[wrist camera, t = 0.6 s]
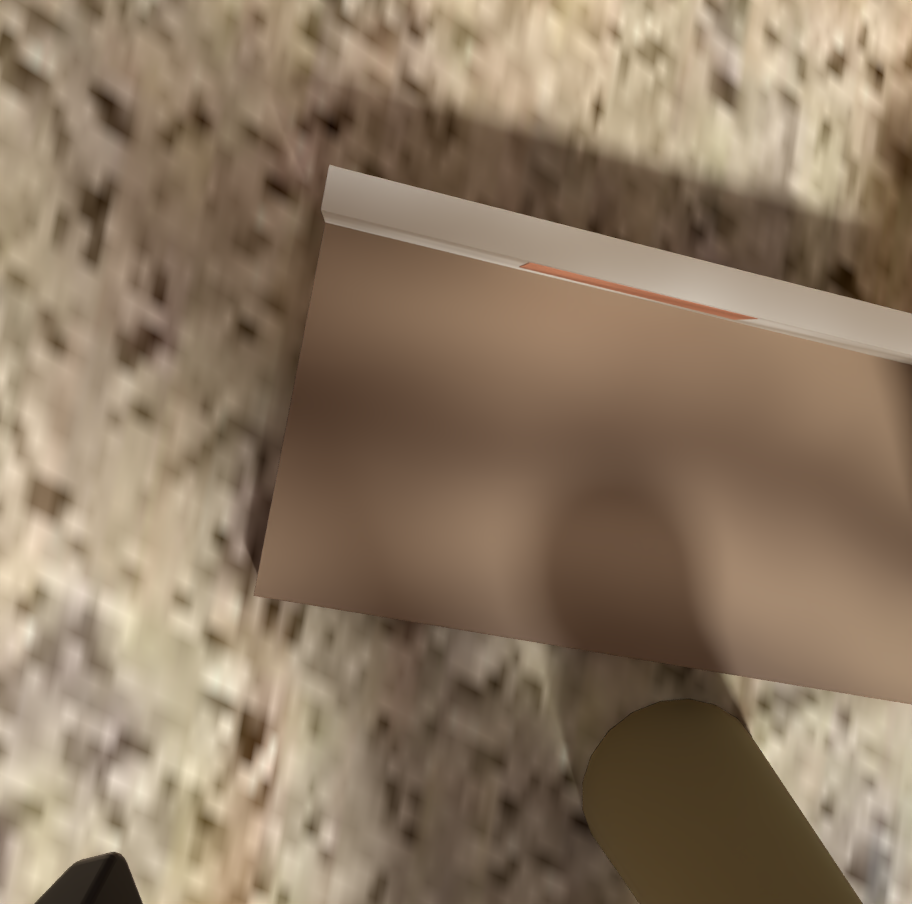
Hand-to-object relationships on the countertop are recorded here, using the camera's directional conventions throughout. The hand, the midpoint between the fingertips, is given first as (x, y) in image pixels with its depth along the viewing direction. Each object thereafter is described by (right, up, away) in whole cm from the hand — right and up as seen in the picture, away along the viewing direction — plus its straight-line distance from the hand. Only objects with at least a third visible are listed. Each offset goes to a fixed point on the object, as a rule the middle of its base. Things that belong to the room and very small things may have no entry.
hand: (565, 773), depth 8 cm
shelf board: (+8, +2, +15) cm, 17 cm away
